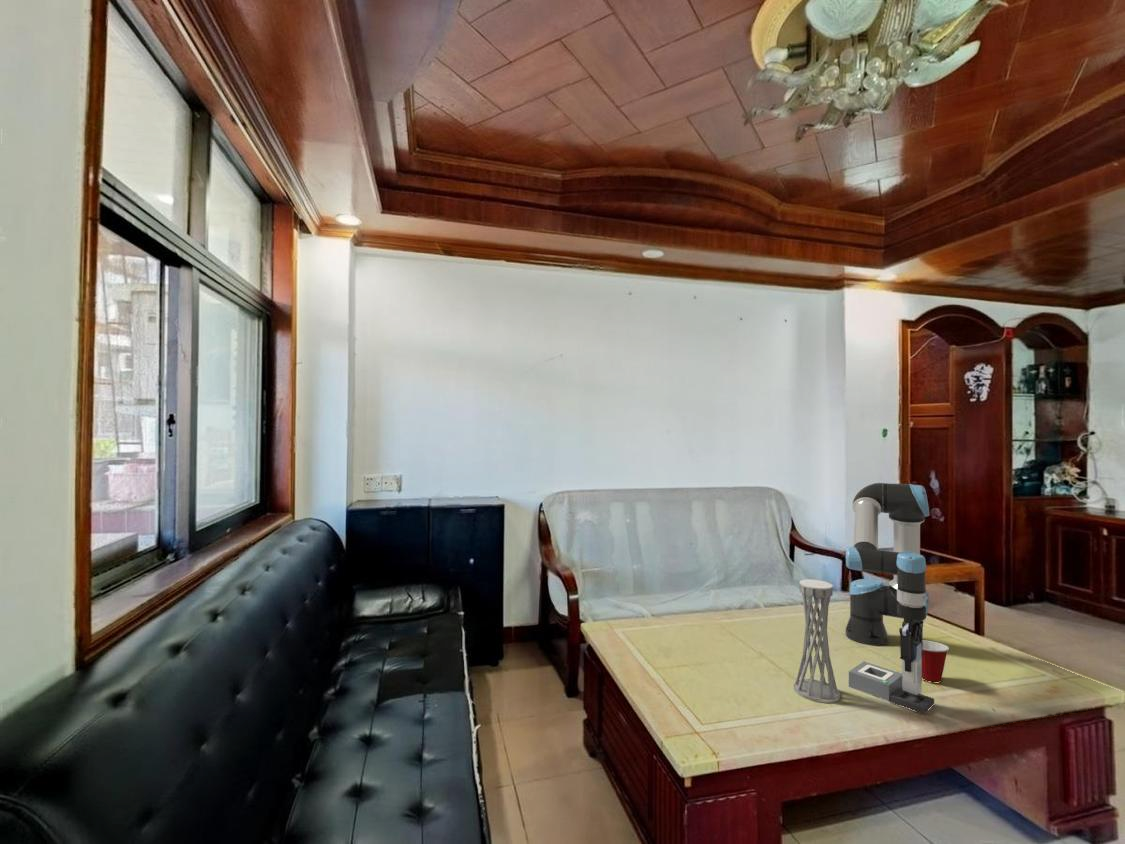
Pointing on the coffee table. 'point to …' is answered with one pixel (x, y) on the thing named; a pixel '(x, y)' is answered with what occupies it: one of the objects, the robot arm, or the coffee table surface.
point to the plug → (917, 686)
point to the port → (875, 680)
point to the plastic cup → (933, 660)
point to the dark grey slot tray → (912, 700)
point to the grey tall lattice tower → (812, 687)
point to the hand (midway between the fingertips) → (911, 678)
